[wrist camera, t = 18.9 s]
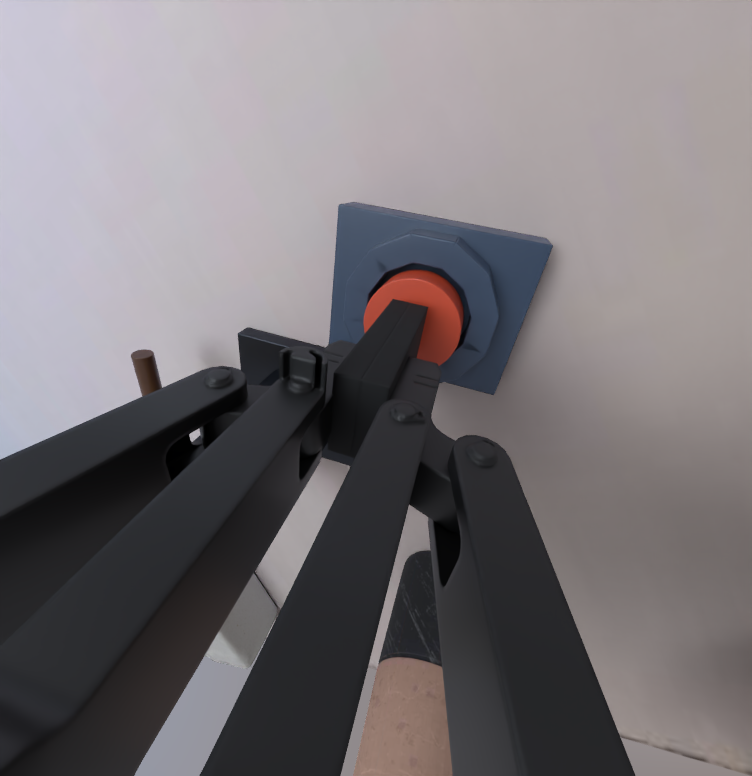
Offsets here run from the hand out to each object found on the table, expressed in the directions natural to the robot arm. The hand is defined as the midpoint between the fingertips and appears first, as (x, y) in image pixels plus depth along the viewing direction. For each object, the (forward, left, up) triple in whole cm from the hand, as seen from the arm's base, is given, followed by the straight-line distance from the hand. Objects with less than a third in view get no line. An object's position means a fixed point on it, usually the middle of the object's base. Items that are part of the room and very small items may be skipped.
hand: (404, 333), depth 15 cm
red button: (0, 0, -3) cm, 3 cm away
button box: (0, 0, -6) cm, 6 cm away
